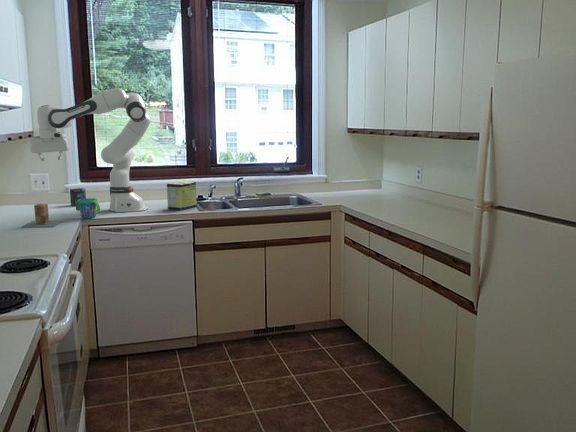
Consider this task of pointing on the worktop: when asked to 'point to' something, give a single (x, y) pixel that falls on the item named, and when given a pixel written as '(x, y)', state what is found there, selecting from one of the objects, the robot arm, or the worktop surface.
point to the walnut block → (41, 214)
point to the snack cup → (87, 207)
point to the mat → (33, 224)
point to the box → (77, 195)
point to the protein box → (181, 195)
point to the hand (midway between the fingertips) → (51, 160)
